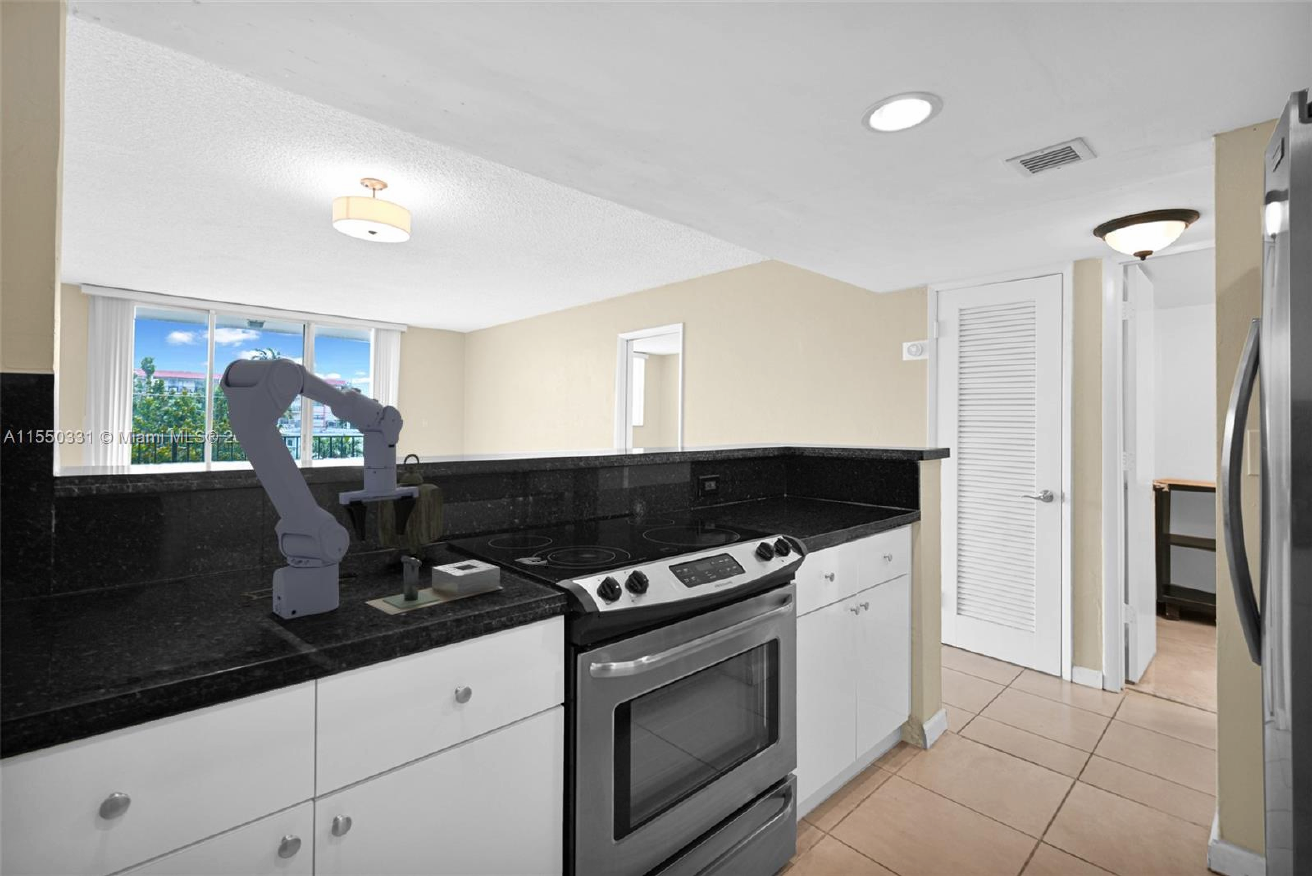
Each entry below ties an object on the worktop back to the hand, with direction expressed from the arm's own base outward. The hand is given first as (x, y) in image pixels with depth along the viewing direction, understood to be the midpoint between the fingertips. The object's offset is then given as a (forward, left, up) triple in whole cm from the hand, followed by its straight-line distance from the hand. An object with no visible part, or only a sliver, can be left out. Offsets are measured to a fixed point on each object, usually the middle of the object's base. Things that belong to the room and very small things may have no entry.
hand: (380, 537), depth 120 cm
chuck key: (-1, -14, -9) cm, 17 cm away
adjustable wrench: (+25, 0, -11) cm, 27 cm away
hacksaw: (-10, +12, -11) cm, 19 cm away
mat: (-1, -14, -9) cm, 17 cm away
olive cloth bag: (+17, +20, -11) cm, 28 cm away
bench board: (+4, -14, -10) cm, 18 cm away
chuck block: (+10, -14, -9) cm, 19 cm away
